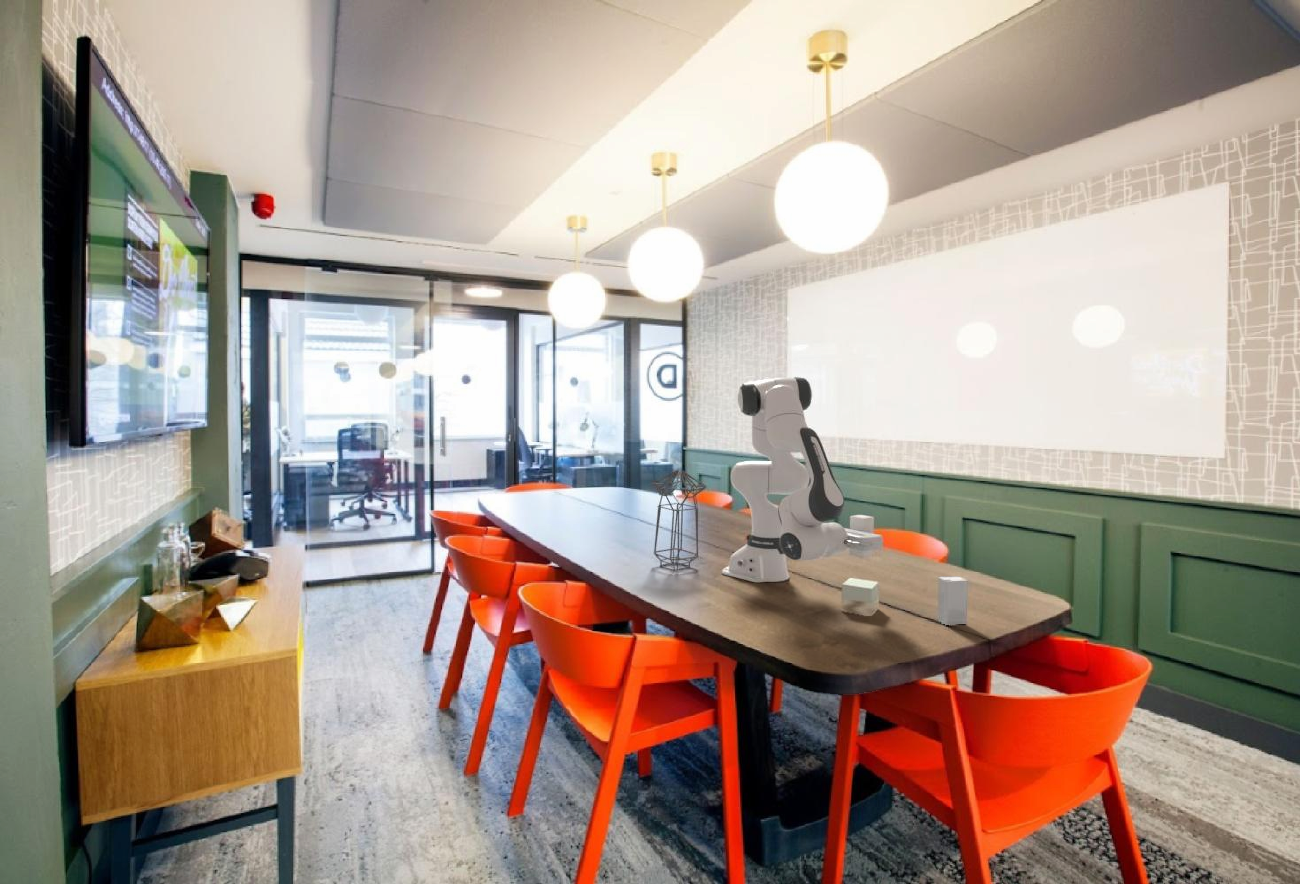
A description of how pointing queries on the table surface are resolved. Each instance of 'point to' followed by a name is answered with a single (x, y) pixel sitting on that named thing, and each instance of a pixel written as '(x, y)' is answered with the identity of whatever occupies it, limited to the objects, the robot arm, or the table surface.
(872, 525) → the tall grey block
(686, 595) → the table surface
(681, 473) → the geometric lantern
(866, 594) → the sage block
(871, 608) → the ash block
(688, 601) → the table surface
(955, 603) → the skincare box
